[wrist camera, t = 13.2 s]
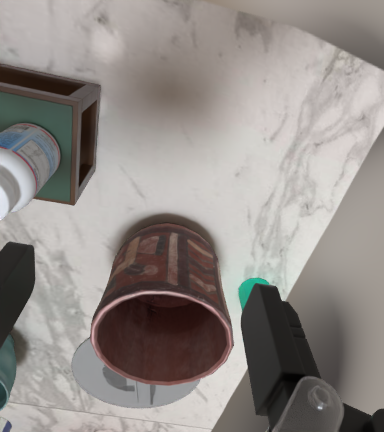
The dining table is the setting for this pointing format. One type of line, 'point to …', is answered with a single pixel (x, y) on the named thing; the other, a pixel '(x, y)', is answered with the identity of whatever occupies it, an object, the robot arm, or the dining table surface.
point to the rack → (55, 124)
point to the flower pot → (7, 370)
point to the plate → (121, 383)
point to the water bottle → (4, 425)
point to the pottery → (163, 309)
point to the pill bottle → (25, 164)
